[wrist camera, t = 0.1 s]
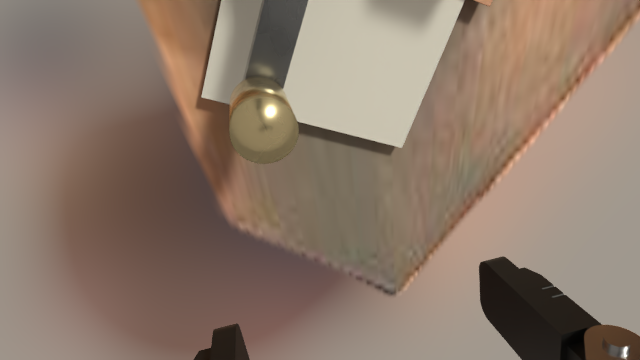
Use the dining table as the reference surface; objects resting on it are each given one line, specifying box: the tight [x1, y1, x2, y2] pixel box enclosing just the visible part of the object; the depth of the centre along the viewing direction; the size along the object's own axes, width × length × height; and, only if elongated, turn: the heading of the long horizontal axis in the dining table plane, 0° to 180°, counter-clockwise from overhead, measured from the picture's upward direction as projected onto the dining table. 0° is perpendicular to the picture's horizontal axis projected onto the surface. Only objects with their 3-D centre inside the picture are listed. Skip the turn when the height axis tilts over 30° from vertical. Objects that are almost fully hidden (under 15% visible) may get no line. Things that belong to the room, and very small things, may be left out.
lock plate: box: [201, 0, 492, 148], centre depth 27 cm, size 20×19×7 cm
